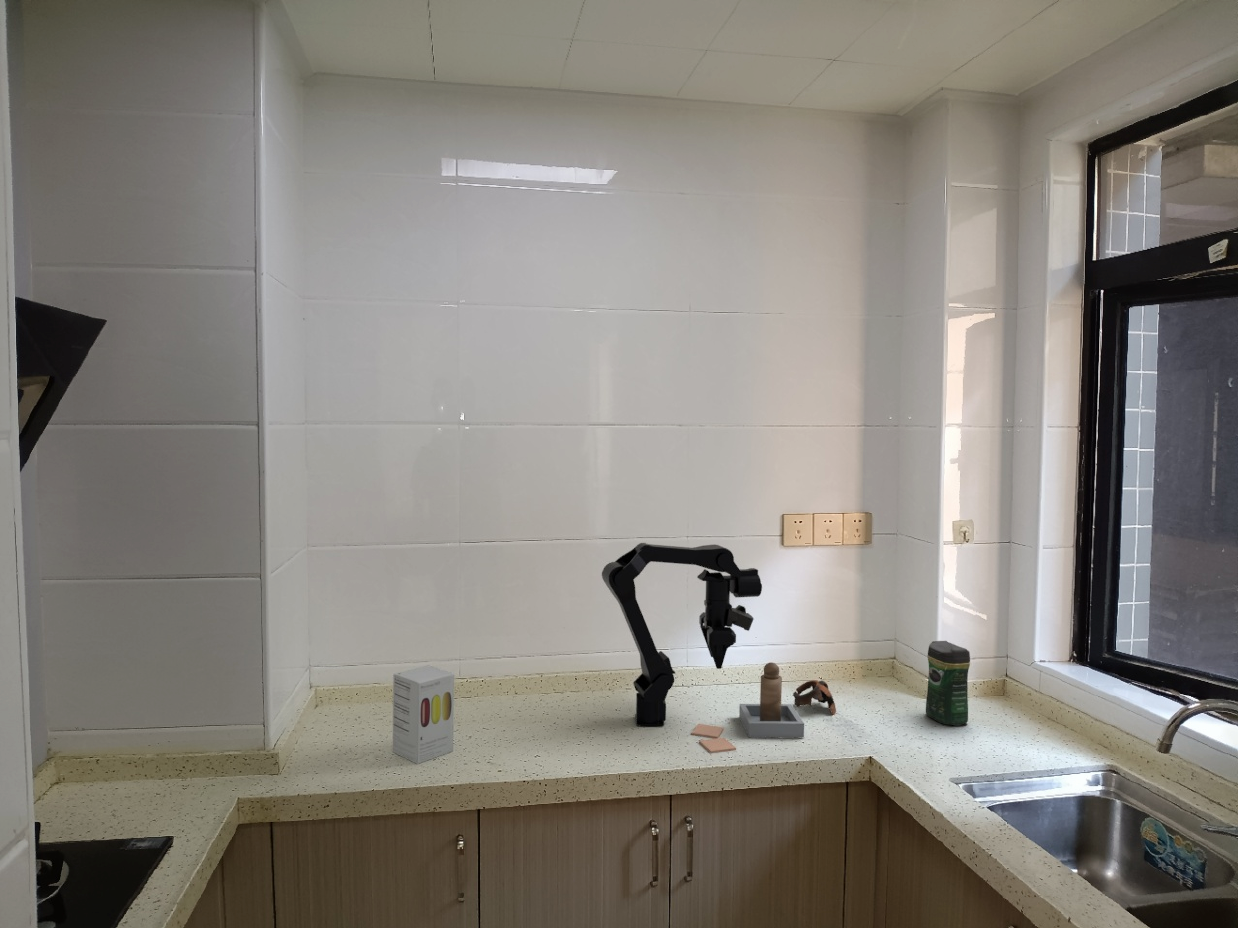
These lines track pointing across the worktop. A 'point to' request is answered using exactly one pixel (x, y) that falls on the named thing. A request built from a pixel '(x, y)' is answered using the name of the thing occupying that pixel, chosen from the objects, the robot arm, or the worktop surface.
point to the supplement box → (423, 713)
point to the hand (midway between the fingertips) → (716, 662)
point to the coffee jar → (948, 683)
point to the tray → (771, 722)
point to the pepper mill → (770, 693)
